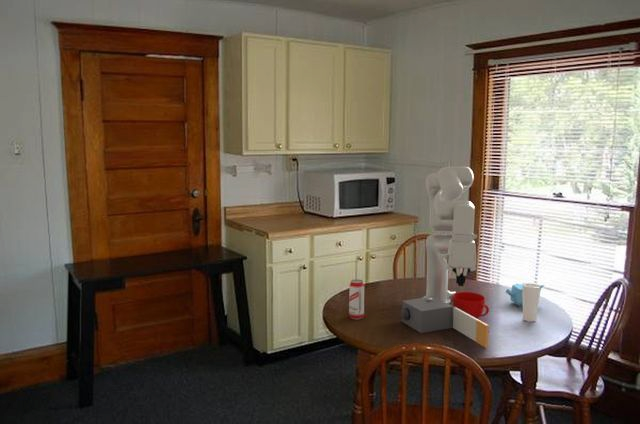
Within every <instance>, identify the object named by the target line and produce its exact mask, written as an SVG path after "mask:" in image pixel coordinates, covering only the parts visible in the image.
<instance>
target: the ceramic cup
mask: <svg viewBox="0 0 640 424" xmlns="http://www.w3.org/2000/svg"><path fill="white" fill-rule="evenodd" d="M485 302H486V297H485V296H484V295H483V294H479V293H476V292H469V291H460V292H456V293H455V294H454V295H453V296H452V306H453V307H456V308H458V309H460V310H462V311H464V312H465V313H467V314H469V315H471V316H473V317H475V318H476V319H478V320H479V318H480V317H485V316H487V315H488V314H489V312H490V308H489V306H488V305H487V304H485ZM484 308H485V313H484V314H483V311H484Z"/></svg>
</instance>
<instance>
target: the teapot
mask: <svg viewBox="0 0 640 424" xmlns="http://www.w3.org/2000/svg"><path fill="white" fill-rule="evenodd" d="M523 284H526V282H523V283H520V284H519V283H515V284H512V285H511V290H510V289H508V288H507V289H506V290H505V293H506V294H508V296H510V301H511V302H512V303H513V304H514V305H517V306H518V308H521V309H523V297H522V293H523ZM539 286H540V292H541V290H542V288H543V287H544V286H545V284H541V285H539Z"/></svg>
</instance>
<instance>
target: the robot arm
mask: <svg viewBox="0 0 640 424" xmlns="http://www.w3.org/2000/svg"><path fill="white" fill-rule="evenodd" d="M473 182H474V173H473V170H472V169H471V168H470V167H468V166H444V167H442V168H440V169H439V170H438V172H436V173H435V172H434V173H429V174H428V175H427V176H426V181H425V187H426V191H427V194H428V198H429V227H430V229H431V230H432V231H434V232H452V233H449V234H447V233H436V234H435V233H434V234H430V235H428V236H427V238H426V240H425V248H426V260H427V261H426V262H427V263H426V291H425V292H426V294H425V295H424V296H423V297H422V298H424V297H431V296H433V297H435V298H437V299H439V300H441V301H443V302H446V303H448V304H450V303H451V297H453V295H454V294H455V293H457V292H456V291H450V290H449V289H448V286H449V271H450V272H454V273H455V275H456V279H455V280H456V282H455V284H457V286H458V287H464V284H466V276H467V275H468V274H469V273H470V272H474V271H477V266H476V265H477V248H476V242H475V240H476V239H478V234H475V232H474V229H475V214H476V213H475V211H476V210H475V209H476V208H475V205H474V204H473V203H472V202H471V201H470V200H458V199H459V198H461V196H462V195H463V193H464V192H466V191H467V190H469V188H470V187H472V185H473ZM444 256H446V259H445V257H444ZM461 270H462V271H461Z"/></svg>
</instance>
